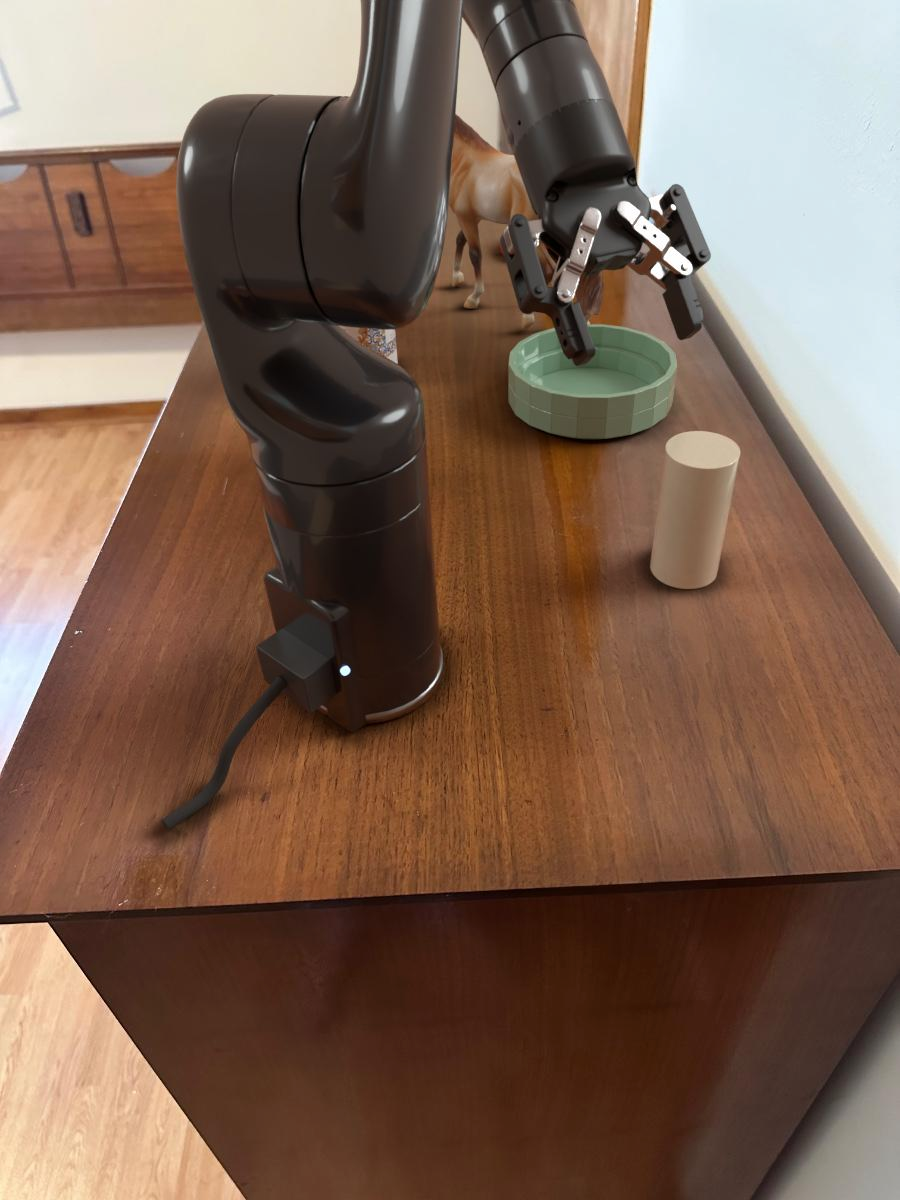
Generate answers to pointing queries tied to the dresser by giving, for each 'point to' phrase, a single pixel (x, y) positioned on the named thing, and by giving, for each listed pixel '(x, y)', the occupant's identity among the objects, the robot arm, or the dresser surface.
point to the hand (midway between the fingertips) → (639, 347)
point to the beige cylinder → (693, 508)
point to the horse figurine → (497, 213)
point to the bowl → (592, 383)
